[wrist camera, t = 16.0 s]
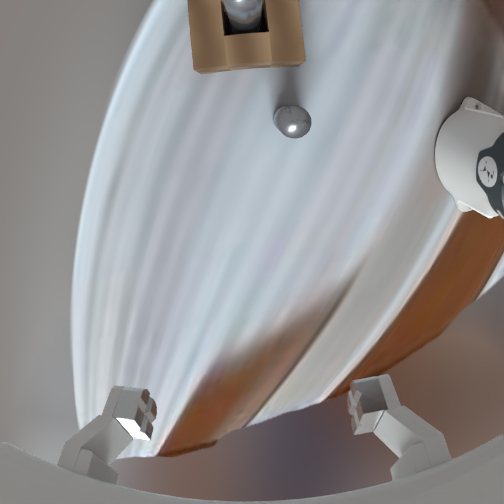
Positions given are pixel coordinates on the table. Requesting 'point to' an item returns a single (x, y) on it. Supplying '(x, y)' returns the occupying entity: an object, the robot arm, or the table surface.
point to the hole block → (245, 38)
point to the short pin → (292, 121)
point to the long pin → (244, 15)
